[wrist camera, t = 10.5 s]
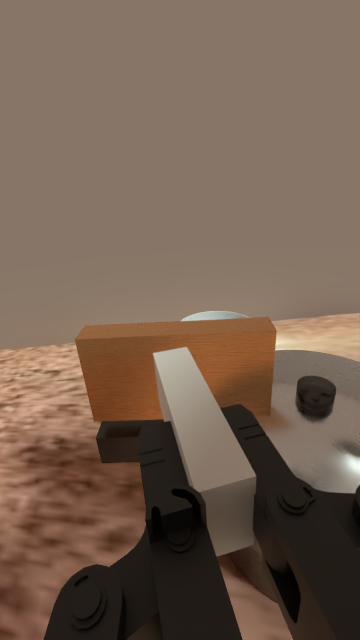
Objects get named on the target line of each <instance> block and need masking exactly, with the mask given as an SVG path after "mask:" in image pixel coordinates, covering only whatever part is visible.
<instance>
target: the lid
mask: <svg viewBox="0 0 360 640" xmlns="http://www.w3.org/2000/svg"><path fill="white" fill-rule="evenodd" d="M75 342H76V347H77V351H78V355H79V359H80V364H81V368H82V372H83V376H84V381H85V385H86V389H87V393H88V398H89V402H90V406H91V410H92V414H93V419H94V421H126V420H158V419H163V415H162V412H161V408H160V404H159V396H158V389H157V381H156V374H155V366H154V359H153V353H156V352H162V351H167V350H173V349H178V348H183V347H187V348H188V350H189V352H190V354H191V355H192V357H193V359H194V361H195V363H196V365H197V367H198V368H199V370H200V372H201V374H202V376H203V378H204V380H205V381H206V383H207V385H208V387H209V389H210V391H211V393H212V394H213V396H214V398H215V400H216V402H217V404H218V406H219V407H220V408H224V407H228V406H232V405H237V404H241V405H242V406H244V407H245V408H246V409H248V410H249V411H251V412H252V413H253V415H254V416H255V418H256V419H257V421H258V422H259V425H260V426H261V427H262V428H263V430H264V431H265V433H266V435H267V436H268V437H269V439H270V440H271V442H272V443H273V445H274V446H275V448H276V449H277V451H278V452H279V454H280V455H281V456H282V458H283V459H284V461H285V462H286V464H287V465H288V467H289V468H290V470H291V471H292V473H293V474H294V475H295V476H296V477H297V478H299V479H301V480H303V481H305V482H306V483H308V484H310V485H311V486H312V487H313V488H314V489H317V490H320V491H325V492H337V493H355V492H356V489H357V487H358V486H359V485H360V362H357V361H354V360H351V359H347V358H344V357H340V356H336V355H331V354H326V353H320V352H313V351H303V350H277V351H275V343H276V329H275V327H274V325H273V324H272V322H271V320H270V319H269V317H259V318H238V319H217V320H197V321H177V322H157V323H156V322H155V323H137V324H136V323H135V324H114V325H94V326H85V327H84V328H83V329H82V331H81V332H80V333H79V335H78V336H77V337H76V339H75Z"/></svg>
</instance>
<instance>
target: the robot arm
mask: <svg viewBox="0 0 360 640" xmlns="http://www.w3.org/2000/svg"><path fill="white" fill-rule="evenodd" d="M153 359H154V366H155V374H156V381H157V389H158V396H159V404H160V408H161V412H162V415H163V419H164V422H162V423H158V424H153V425H149V426H145V427H141V430H140V433H139V436H138V438H137V445H138V452H139V460H140V467H141V474H142V482H143V489H144V497H145V504H146V519H145V521H146V528H145V531H144V533H143V535H142V538H141V540H140V541H139V542H138V544H137V545H136V546H135V548H134V549H132V550H131V551H130V552H129V553H128V554H127V555H125V556H124V557H123V558H121V559H120V560H118V561H117V562H116V563H114V564H113V565H111V566H110V567H107V566H102V565H97V564H96V565H92V566H88V567H85V568H83V569H82V570H80V571H79V572H77V573H76V574H74V575H73V576H72V577H71V578H70V579H69V580H68V582H67V583H66V584H65V585H64V587H63V588H62V589H61V591H60V593H59V595H58V598H57V600H56V602H55V604H54V607H53V610H52V614H51V617H50V620H49V624H48V627H47V630H46V633H45V637H44V640H242V637H241V633H240V630H239V627H238V624H237V621H236V617H235V614H234V611H233V608H232V605H231V601H230V598H229V595H228V592H227V589H226V585H225V582H224V579H223V576H222V573H221V570H220V566H219V563H218V560H217V557H218V556H221V555H224V554H227V553H230V552H233V551H236V550H239V549H242V548H245V547H249V546H252V545H254V534H255V537H256V539H257V541H258V543H259V546H260V548H261V550H262V561H261V580H262V584H263V586H266V585H267V579H268V580H269V583H270V585H271V587H272V590H273V592H274V595H275V597H276V599H277V602H278V604H279V606H280V609H281V611H282V614H283V616H284V618H285V621H286V623H287V625H288V628H289V630H290V632H291V635H292V637H293V640H360V485H359V486H358V487H357V489H356V492H355V493H337V492H325V491H320V490H317V489H314V488H313V487H312V486H311V485H310V484H308V483H306V482H305V481H303V480H301V479H299V478H297V477H296V476H295V475H294V474H293V473H292V471H291V470H290V468H289V467H288V465H287V464H286V462H285V461H284V459H283V458H282V456H281V455H280V454H279V452H278V451H277V449H276V448H275V446H274V445H273V443H272V442H271V440H270V439H269V437H268V436H267V435H266V433H265V431H264V430H263V428H262V427H261V426H260V425H259V422H258V421H257V419H256V418H255V416H254V415H253V413H252V412H251V411H249V410H248V409H246V408H245V407H244V406H242V405H241V404H237V405H232V406H228V407H224V408H220V407H219V406H218V404H217V402H216V400H215V398H214V396H213V394H212V393H211V391H210V389H209V387H208V385H207V383H206V381H205V380H204V378H203V376H202V374H201V372H200V370H199V368H198V367H197V365H196V363H195V361H194V359H193V357H192V355H191V354H190V352H189V350H188V348H187V347H183V348H178V349H173V350H167V351H162V352H156V353H153Z"/></svg>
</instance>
